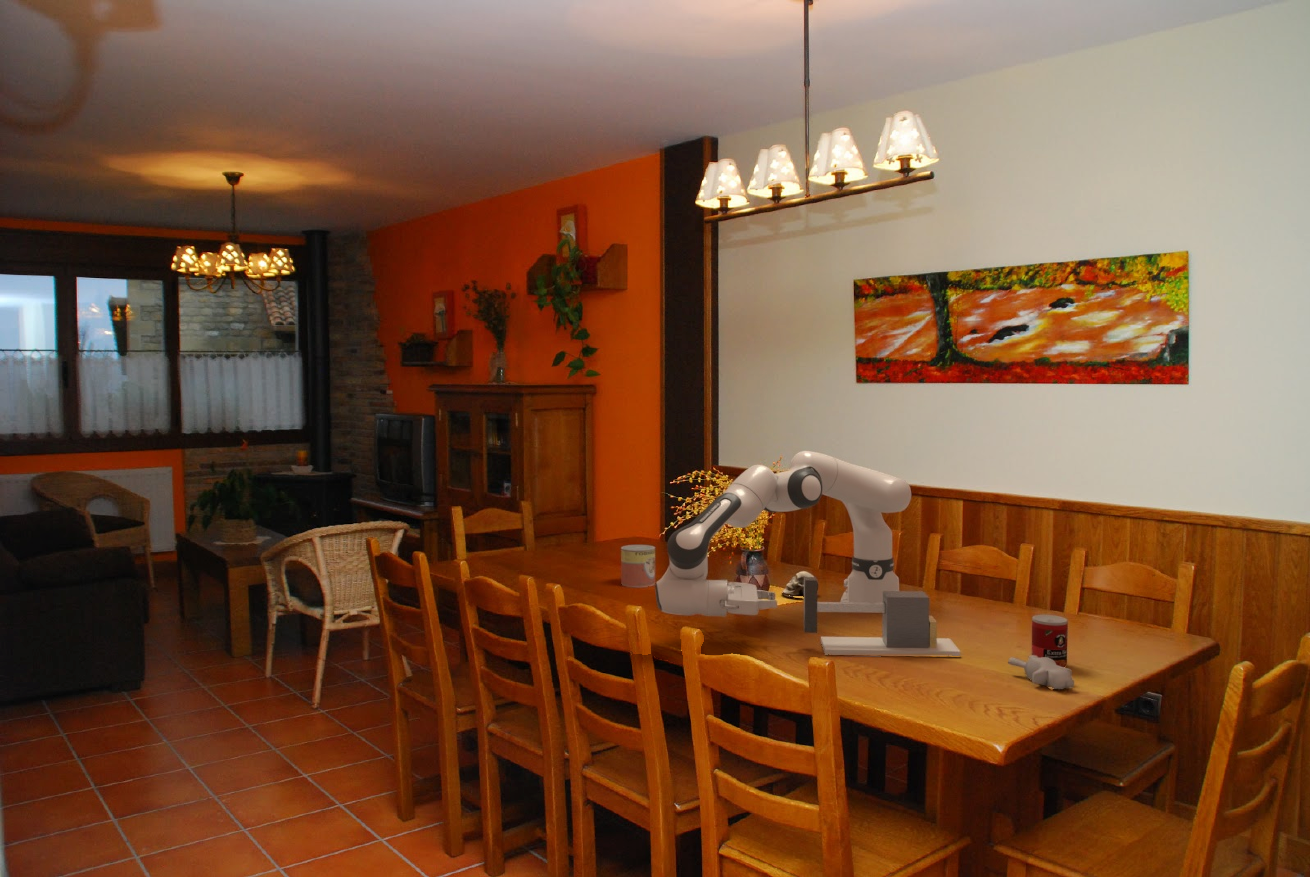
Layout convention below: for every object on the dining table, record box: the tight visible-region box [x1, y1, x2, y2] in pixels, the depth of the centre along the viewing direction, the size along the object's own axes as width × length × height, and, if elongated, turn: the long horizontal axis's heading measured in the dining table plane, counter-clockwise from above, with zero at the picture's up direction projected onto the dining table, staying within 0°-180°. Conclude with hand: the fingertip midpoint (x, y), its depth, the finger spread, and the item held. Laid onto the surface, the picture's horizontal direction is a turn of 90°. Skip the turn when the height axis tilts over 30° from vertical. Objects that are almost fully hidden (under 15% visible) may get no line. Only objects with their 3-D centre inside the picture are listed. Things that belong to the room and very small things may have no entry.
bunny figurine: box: [1007, 654, 1075, 690], centre depth 217 cm, size 10×5×15 cm
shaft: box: [803, 576, 886, 634], centre depth 243 cm, size 4×28×13 cm, turn 86°
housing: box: [881, 590, 930, 648], centre depth 242 cm, size 7×10×14 cm
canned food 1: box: [620, 544, 656, 588], centre depth 324 cm, size 11×11×12 cm
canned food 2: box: [1031, 614, 1069, 668], centre depth 229 cm, size 8×8×11 cm
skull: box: [781, 570, 819, 598], centre depth 305 cm, size 12×10×10 cm
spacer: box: [929, 615, 938, 648], centre depth 242 cm, size 6×2×6 cm, turn 175°
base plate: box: [820, 636, 962, 657], centre depth 243 cm, size 12×32×2 cm, turn 86°
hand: (776, 599), depth 244 cm, fingers open, 8 cm apart
